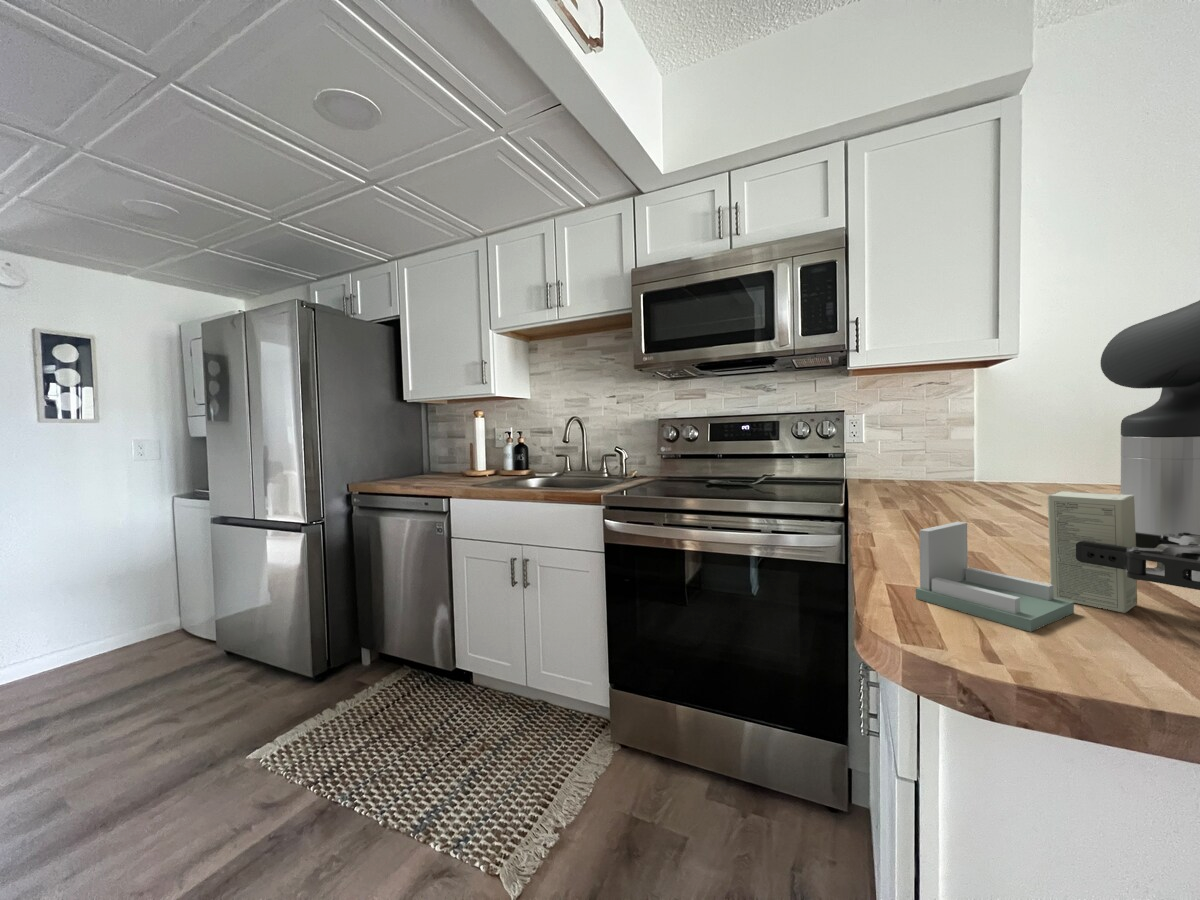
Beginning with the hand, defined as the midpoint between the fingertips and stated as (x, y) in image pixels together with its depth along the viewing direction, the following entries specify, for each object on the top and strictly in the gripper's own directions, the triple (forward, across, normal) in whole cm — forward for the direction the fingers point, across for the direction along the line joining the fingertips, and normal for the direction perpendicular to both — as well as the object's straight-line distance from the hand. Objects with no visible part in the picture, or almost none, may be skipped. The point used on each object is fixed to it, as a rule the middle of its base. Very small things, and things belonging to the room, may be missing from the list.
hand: (1095, 544), depth 53 cm
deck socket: (+5, +10, +6) cm, 13 cm away
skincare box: (0, 0, +7) cm, 7 cm away
